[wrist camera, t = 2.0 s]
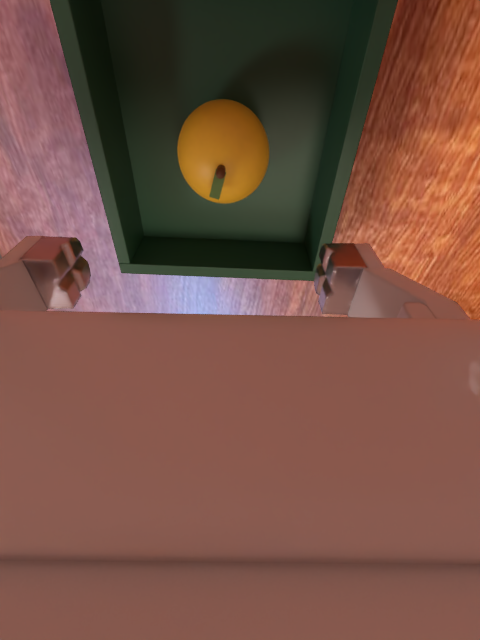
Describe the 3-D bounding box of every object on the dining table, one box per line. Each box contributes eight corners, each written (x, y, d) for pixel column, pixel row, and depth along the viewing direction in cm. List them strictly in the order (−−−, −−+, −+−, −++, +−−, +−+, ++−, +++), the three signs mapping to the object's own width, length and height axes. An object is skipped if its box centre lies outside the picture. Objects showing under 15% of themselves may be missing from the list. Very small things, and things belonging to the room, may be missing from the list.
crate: (81, -45, 16) (30, -70, 13) (371, -26, 17) (410, -45, 13) (138, 240, 28) (121, 273, 24) (310, 247, 28) (321, 281, 24)
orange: (193, 77, 19) (175, 92, 14) (279, 111, 20) (290, 135, 15) (178, 171, 23) (159, 209, 18) (251, 194, 24) (253, 237, 19)
